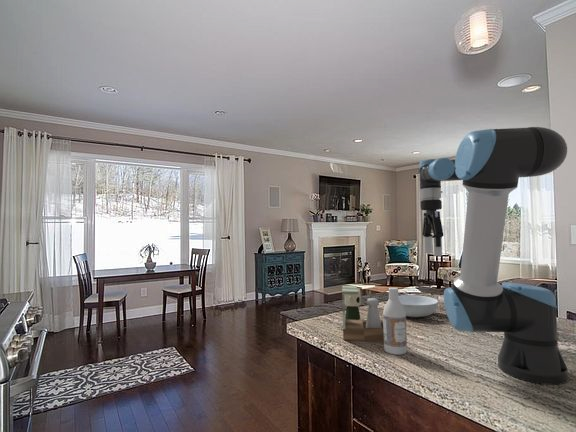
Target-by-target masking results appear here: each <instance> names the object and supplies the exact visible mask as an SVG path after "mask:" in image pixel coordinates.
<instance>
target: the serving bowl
mask: <svg viewBox="0 0 576 432" xmlns="http://www.w3.org/2000/svg"><path fill="white" fill-rule="evenodd" d="M398 297H399V298H398V299H399V301H400V303H401V304H402V306H403V307H404V310H405V313H406V318H407V317H408V318H423V317H427V316H430V315H432V314H434V313H435V312H436V311H437V309H438V307H439V300H438V299H437V298H434V297H431V296H423V295H414V294H413V295H412V294H411V295H409V294H406V295H405V294H402V295H398Z"/></svg>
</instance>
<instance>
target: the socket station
mask: <svg viewBox="0 0 576 432" xmlns="http://www.w3.org/2000/svg"><path fill="white" fill-rule="evenodd" d="M357 289H358V287H357V285H342V286H341V296H342V297H341V301H342V302H341V304H342V338H343V339H342V341H351V342H352V341H353V342H354V341H356V342H373V343H374V342H381V343H384V329H383V319H380V321H381V326H382V328H366V322H367V319H360V320H347V319H345V315H346V305H345V295H358V290H357Z"/></svg>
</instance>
